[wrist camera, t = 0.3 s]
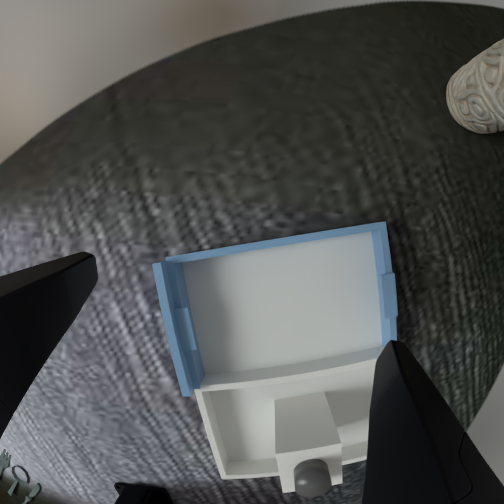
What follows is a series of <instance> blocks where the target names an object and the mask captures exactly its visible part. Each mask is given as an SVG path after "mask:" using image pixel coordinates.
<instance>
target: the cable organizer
mask: <svg viewBox="0 0 504 504" xmlns="http://www.w3.org/2000/svg"><path fill="white" fill-rule="evenodd" d="M152 265H153V271H154V276H155V281H156V287H157V292H158V297H159V302H160V306H161V311H162V316H163V320H164V325H165V329H166V334H167V338H168V342H169V346H170V350H171V354H172V358H173V362H174V366H175V370H176V374H177V378H178V381H179V385H180V388H181V392H182V395H183V396H191V395H192V393H193V391H194V390H195V394H196V398H197V401H198V405H199V408H200V412H201V415H202V419H203V422H204V426H205V429H206V432H207V436H208V439H209V442H210V445H211V448H212V452H213V455H214V458H215V461H216V464H217V467H218V470H219V473H220V476H221V479H243V478H258V477H269V476H279V470H278V465H277V460H276V455H275V405H274V400H278V399H285V398H292V397H298V396H304V395H310V394H316V393H321V392H324V393H325V396H326V399H327V401H328V404H329V407H330V410H331V413H332V416H333V419H334V422H335V425H336V428H337V431H338V434H339V437H340V440H341V446H342V465H345V464H350V463H354V462H358V461H362V460H366V459H367V447H368V429H369V411H370V403H371V396H372V388H373V380H374V372H375V364H376V361H377V359H378V357H379V355H380V354H381V352H382V351H383V349H384V347H385V346H386V344H387V343H388V342H389V341H390V340H396V341H397V329H396V316H398V310H397V296H396V284H395V274H394V273H392V266H391V257H390V249H389V242H388V235H387V228H386V221H385V222H377V223H370V224H364V225H357V226H351V227H345V228H338V229H332V230H326V231H320V232H313V233H307V234H301V235H295V236H289V237H283V238H276V239H270V240H264V241H258V242H252V243H246V244H240V245H234V246H228V247H222V248H216V249H210V250H204V251H199V252H193V253H187V254H181V255H175V256H170V257H166V261H162V262H158V263H154V264H152Z"/></svg>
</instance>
